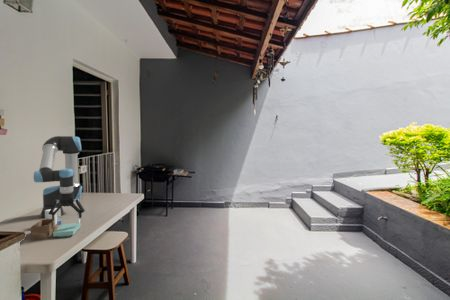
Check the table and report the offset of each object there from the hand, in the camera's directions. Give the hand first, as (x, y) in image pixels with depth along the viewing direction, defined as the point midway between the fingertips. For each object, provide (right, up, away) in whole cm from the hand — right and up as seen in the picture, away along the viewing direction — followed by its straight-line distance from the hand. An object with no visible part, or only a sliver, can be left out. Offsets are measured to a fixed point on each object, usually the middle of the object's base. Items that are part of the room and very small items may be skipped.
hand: (67, 223), depth 158 cm
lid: (0, -7, 0) cm, 6 cm away
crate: (-12, -6, -4) cm, 14 cm away
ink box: (-19, -6, +13) cm, 24 cm away
